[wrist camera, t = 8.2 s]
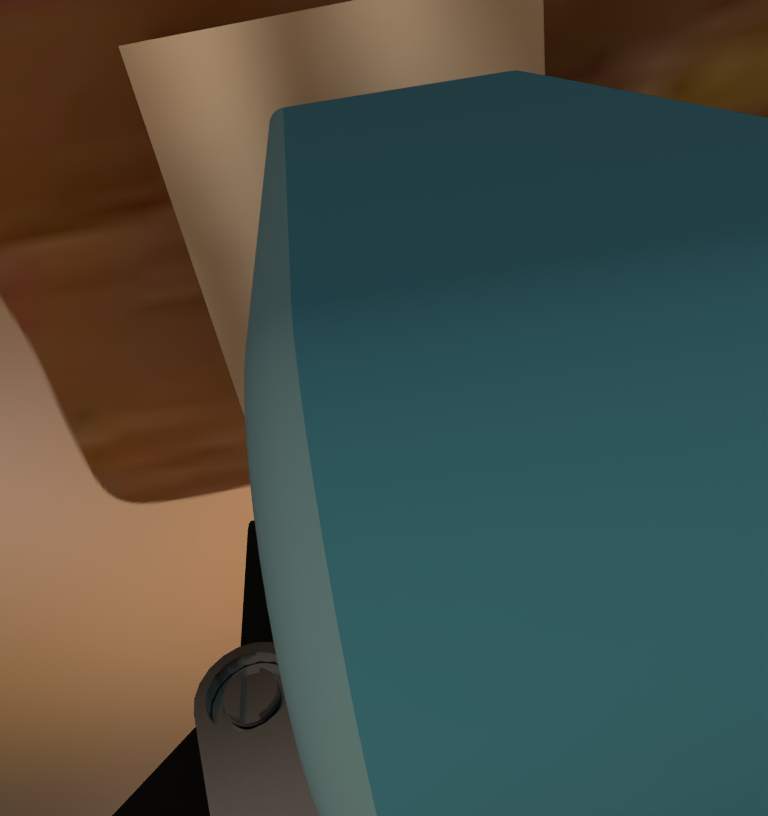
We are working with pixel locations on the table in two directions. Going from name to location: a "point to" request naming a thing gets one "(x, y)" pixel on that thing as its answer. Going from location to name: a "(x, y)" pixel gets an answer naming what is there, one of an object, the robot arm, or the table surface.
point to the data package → (515, 448)
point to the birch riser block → (288, 86)
